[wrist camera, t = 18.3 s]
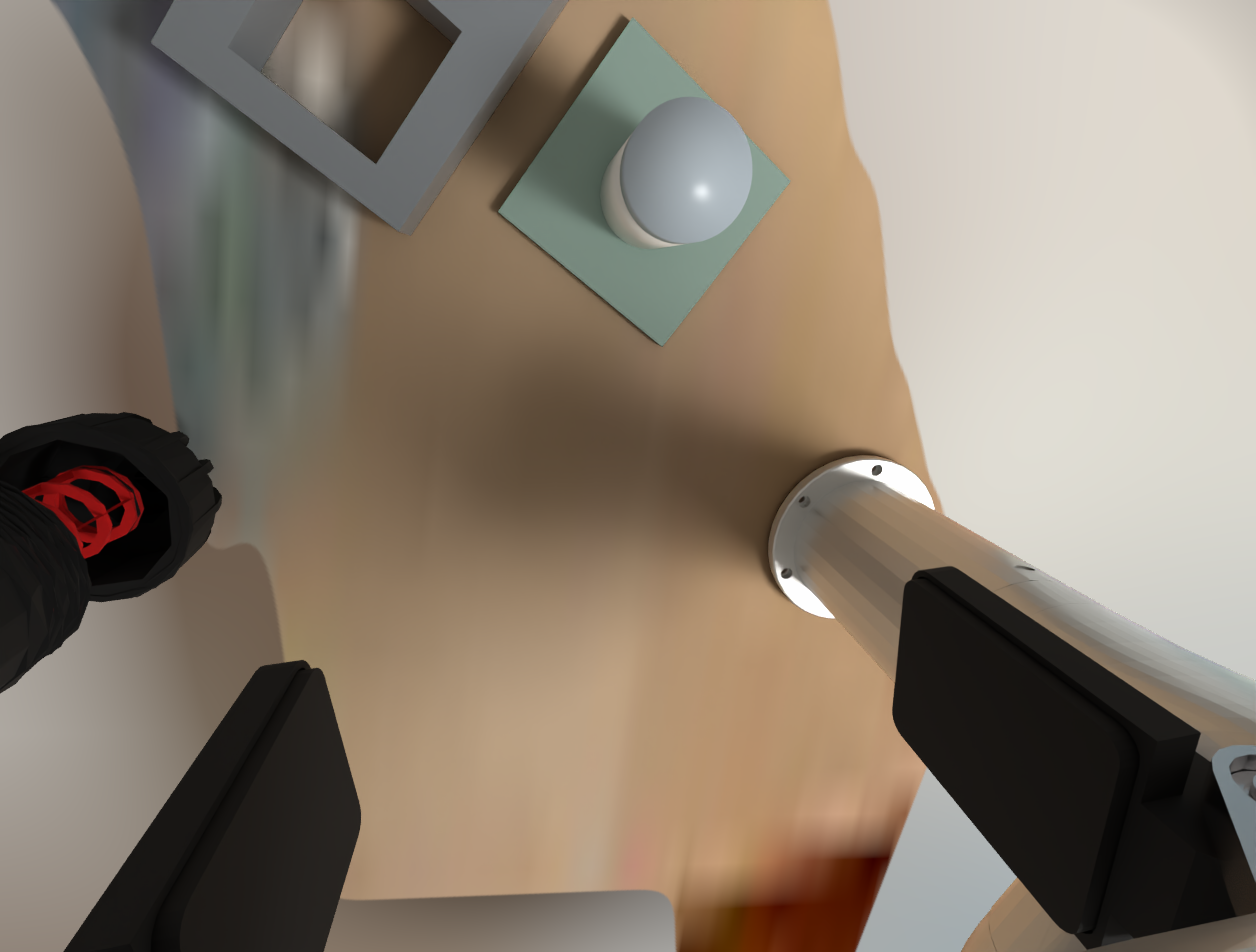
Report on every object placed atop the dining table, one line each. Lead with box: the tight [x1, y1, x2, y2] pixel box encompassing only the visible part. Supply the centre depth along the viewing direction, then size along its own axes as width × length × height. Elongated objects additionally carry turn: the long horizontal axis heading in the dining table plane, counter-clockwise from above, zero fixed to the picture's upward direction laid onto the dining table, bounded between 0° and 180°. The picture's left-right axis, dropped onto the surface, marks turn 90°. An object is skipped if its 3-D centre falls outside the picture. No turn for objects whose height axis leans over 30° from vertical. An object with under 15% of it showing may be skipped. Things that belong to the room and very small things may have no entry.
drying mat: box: [498, 18, 790, 347], centre depth 34 cm, size 12×12×1 cm
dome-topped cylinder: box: [600, 97, 752, 249], centre depth 30 cm, size 6×6×9 cm
